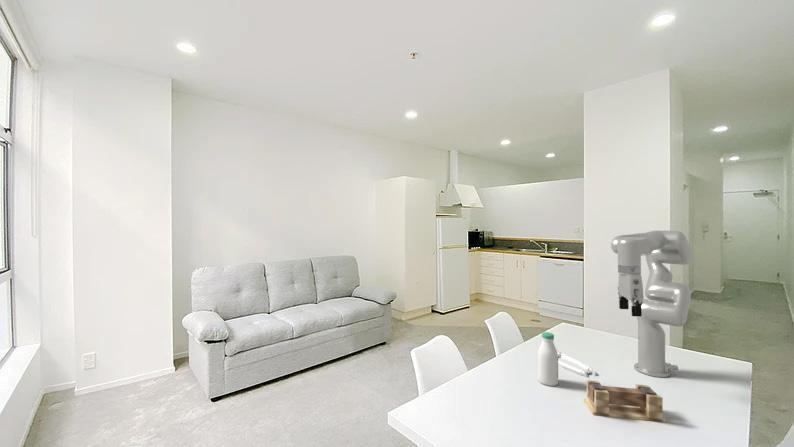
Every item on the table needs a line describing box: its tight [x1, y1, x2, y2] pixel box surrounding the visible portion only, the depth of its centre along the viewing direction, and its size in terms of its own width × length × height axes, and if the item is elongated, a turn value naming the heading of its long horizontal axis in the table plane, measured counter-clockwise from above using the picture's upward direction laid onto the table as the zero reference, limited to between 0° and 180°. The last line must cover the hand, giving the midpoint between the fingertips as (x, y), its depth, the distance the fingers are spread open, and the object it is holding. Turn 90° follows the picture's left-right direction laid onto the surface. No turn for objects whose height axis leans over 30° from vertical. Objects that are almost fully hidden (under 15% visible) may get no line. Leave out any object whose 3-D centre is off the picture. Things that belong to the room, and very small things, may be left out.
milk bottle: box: [537, 331, 559, 387], centre depth 136 cm, size 8×8×20 cm
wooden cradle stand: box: [583, 379, 667, 423], centre depth 115 cm, size 22×8×8 cm, turn 79°
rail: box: [589, 383, 658, 407], centre depth 115 cm, size 20×4×5 cm, turn 79°
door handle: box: [557, 351, 597, 378], centre depth 153 cm, size 3×10×25 cm
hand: (630, 312), depth 131 cm, fingers open, 9 cm apart
